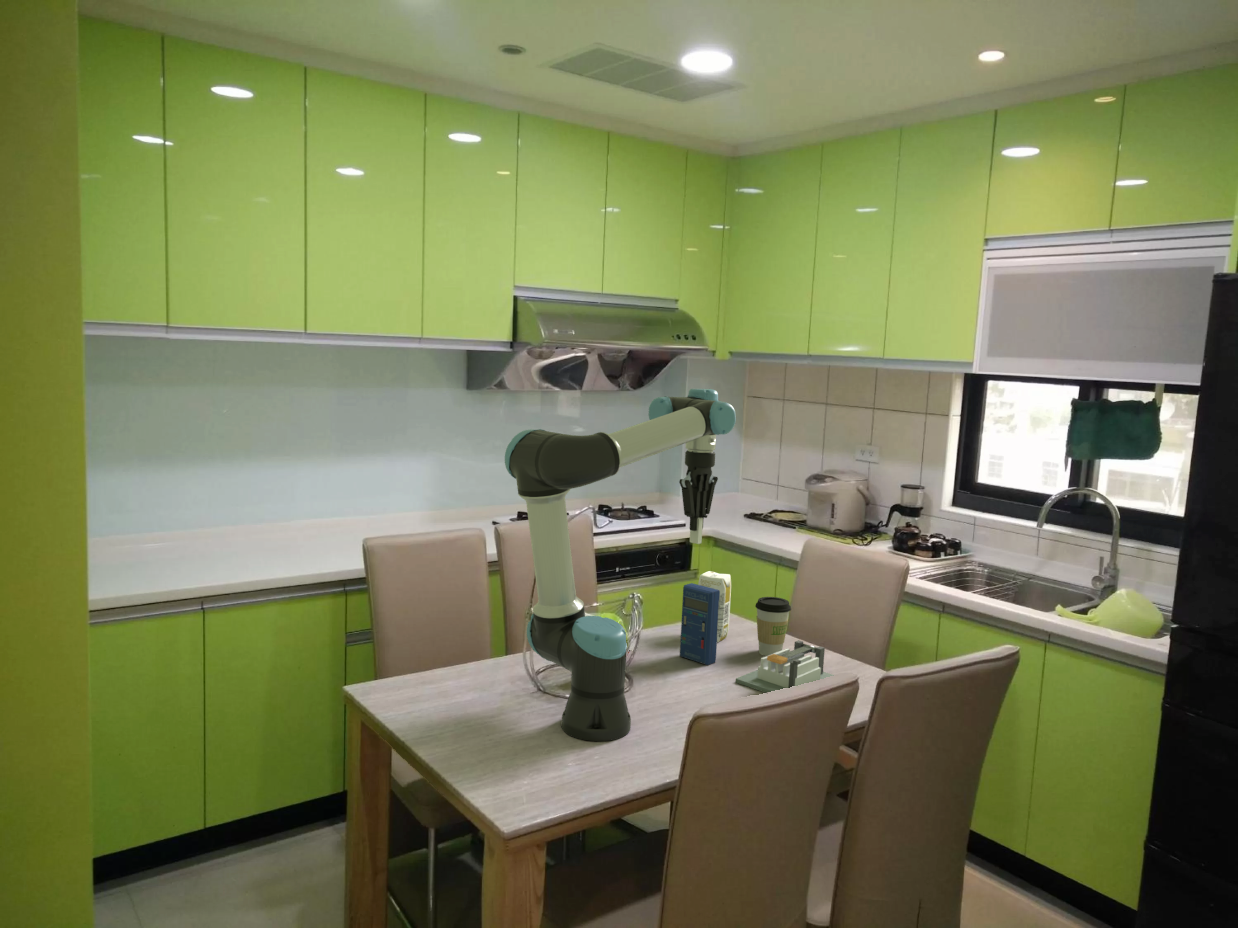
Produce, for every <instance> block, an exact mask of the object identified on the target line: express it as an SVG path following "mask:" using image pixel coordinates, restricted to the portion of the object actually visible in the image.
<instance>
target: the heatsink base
mask: <svg viewBox="0 0 1238 928" xmlns="http://www.w3.org/2000/svg"><path fill="white" fill-rule="evenodd" d="M802 644H804V641H803V640H799V639H798V640H796V641H794V645H793V647H794V648H793V650H795V649H798V648H801V645H802ZM816 647H817V648H816V653H814V654H815V657H813V658H812V655H810V654H807V655H805V654H804V655H801V656H799V657H796V658H793V659H791V660H788V661H787V662H786V663H783V664H778V663H774V662H771V661H768V660H767V656H763V657H761V658H760V665H759V666H757V669H756V670H753V671H751V672H749V673H746V674H744V675H741V676H738V677H736V678H735V683H737V684H739V685H742V686H745V687H748V688H751V689H753V690H756V691H760V692H763V693H765V694H767V693H766V692H771V691H775V690H780V689H783V688H790V687H792V686H798V685H801V684H804V683H809V682H813V681H816V680H820V679H824V678H826V677H830V676H834V675H835V674H832V673H830V672H826V671H824V664H825V649H826V648H825V647H824V646H816ZM790 651H791V649H790V648H785V649H784V648H783V649H782V651H779V652H776V653H774V654H776V655H781V654H784V653H787V652H790ZM771 655H772V654H771ZM768 656H769V655H768Z"/></svg>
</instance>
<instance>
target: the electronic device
mask: <svg viewBox="0 0 1238 928" xmlns="http://www.w3.org/2000/svg"><path fill="white" fill-rule="evenodd" d="M682 589H683V590H682V606H681V607H682V608H681V621H680V622H681V623H680V624H681V625H680V645H679V657H682V658H684V659H688V660H691V661H694V662H697V663H700V664H703V665H706V666H709V665H711V664H715V663H716V660H717V647H718V646H717V644H718V642H717V625H718V607H719V597H720V591H719V590H717V589H713V588H709V587H705V586H701V585H698V583H697V584H696V583H693V582H691V583H687V584H684V585H683V587H682Z"/></svg>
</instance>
